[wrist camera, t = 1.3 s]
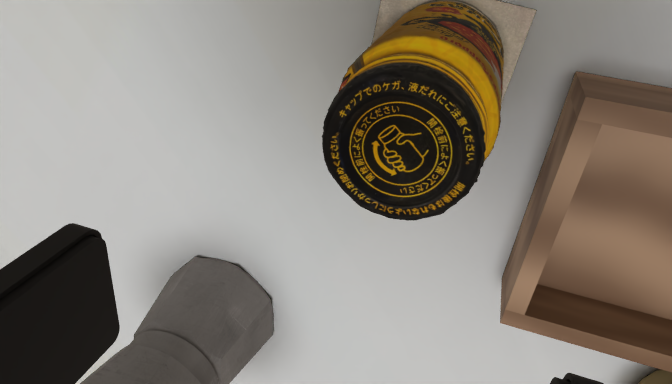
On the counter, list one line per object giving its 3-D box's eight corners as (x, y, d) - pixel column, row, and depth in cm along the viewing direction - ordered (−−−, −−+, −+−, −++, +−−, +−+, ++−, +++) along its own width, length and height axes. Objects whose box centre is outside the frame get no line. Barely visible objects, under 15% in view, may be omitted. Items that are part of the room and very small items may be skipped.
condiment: (536, 9, 23) (551, 81, 13) (477, 165, 28) (455, 307, 18) (387, -27, 24) (296, 14, 14) (354, 128, 29) (267, 242, 19)
